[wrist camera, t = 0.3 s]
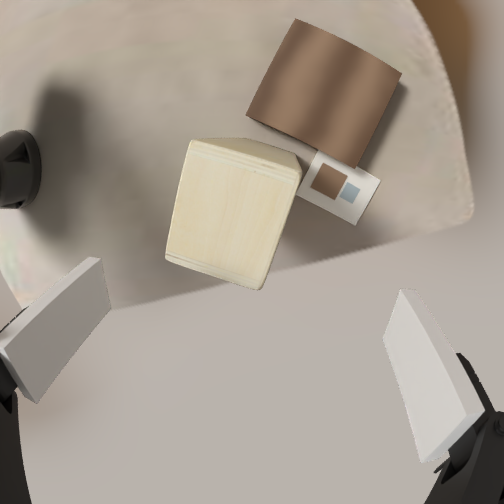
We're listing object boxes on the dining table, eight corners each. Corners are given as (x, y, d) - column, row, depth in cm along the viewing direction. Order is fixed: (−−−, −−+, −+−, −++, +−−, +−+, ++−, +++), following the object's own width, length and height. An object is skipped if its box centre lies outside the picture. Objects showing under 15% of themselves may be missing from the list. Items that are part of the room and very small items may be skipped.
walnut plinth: (248, 116, 33) (245, 115, 30) (294, 26, 27) (295, 18, 24) (349, 166, 34) (354, 169, 31) (393, 77, 28) (401, 73, 25)
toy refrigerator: (239, 134, 34) (178, 135, 15) (295, 151, 34) (307, 173, 15) (222, 192, 37) (153, 259, 18) (276, 209, 37) (262, 296, 18)
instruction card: (295, 194, 36) (295, 194, 36) (320, 146, 33) (320, 146, 33) (354, 225, 36) (355, 226, 36) (380, 180, 34) (380, 180, 33)
